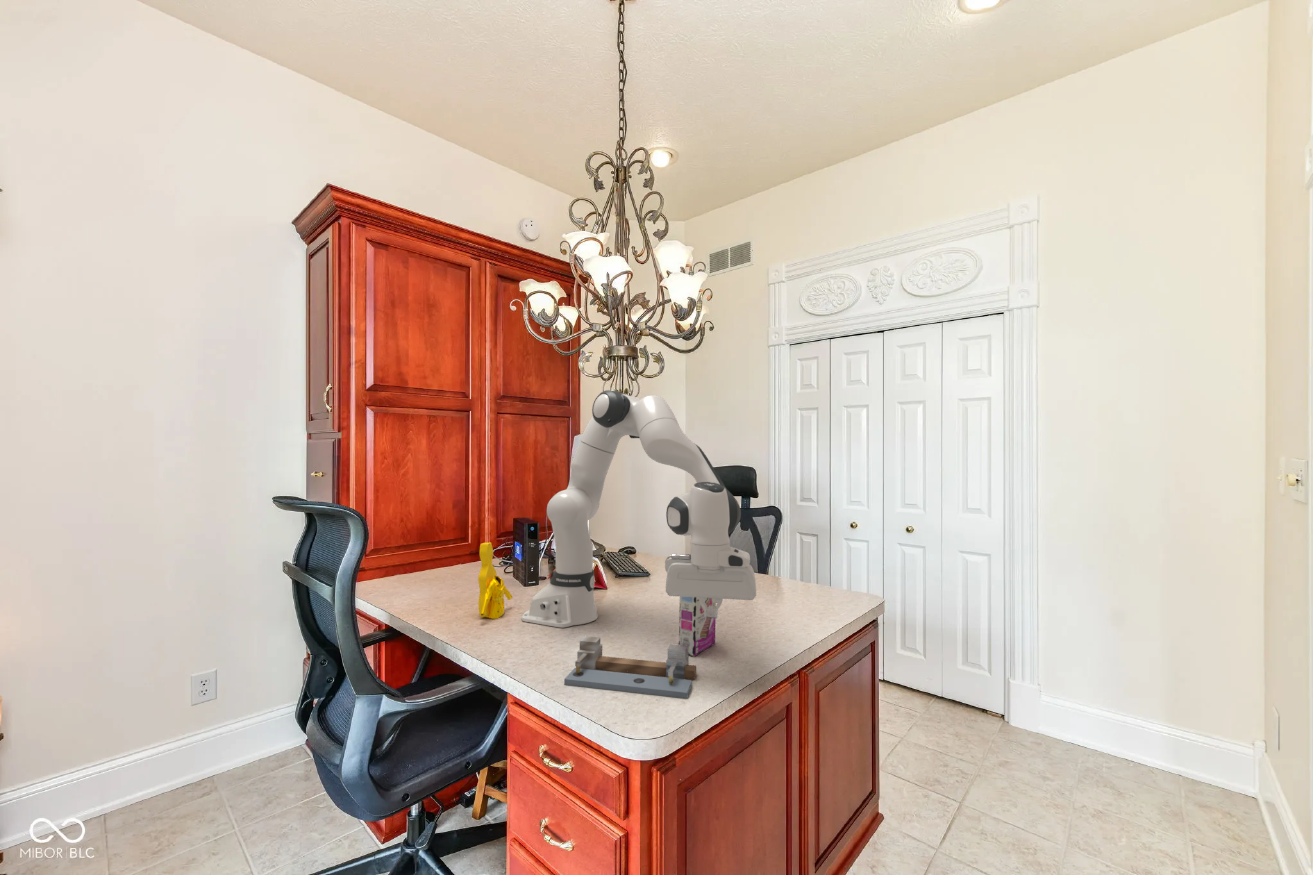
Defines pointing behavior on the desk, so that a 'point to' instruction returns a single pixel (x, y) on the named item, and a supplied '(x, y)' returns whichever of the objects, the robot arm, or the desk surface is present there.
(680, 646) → the sliding jaw
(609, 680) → the flange plate
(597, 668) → the rail
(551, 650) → the desk surface
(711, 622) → the candy bar box
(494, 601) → the figure statuette
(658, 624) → the desk surface
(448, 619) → the desk surface
